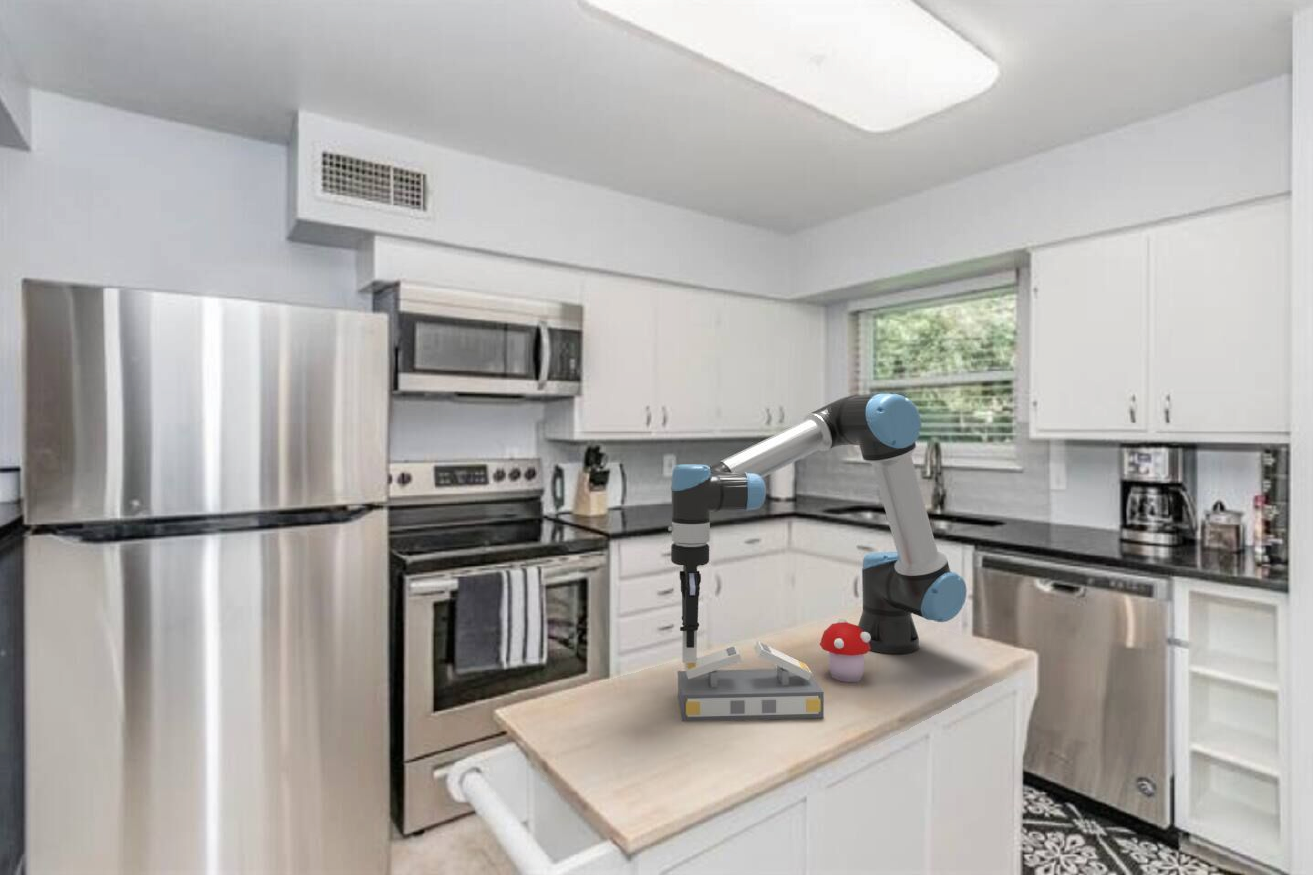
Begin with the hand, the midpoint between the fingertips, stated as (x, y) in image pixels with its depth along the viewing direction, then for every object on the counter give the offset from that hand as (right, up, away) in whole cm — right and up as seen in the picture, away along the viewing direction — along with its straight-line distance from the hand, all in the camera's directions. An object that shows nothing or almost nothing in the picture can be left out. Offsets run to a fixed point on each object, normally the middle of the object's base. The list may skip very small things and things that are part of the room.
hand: (689, 661), depth 132 cm
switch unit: (+12, -9, +1) cm, 15 cm away
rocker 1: (+5, 0, 0) cm, 5 cm away
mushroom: (+35, -9, +15) cm, 39 cm away
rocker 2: (+19, 0, +1) cm, 19 cm away
